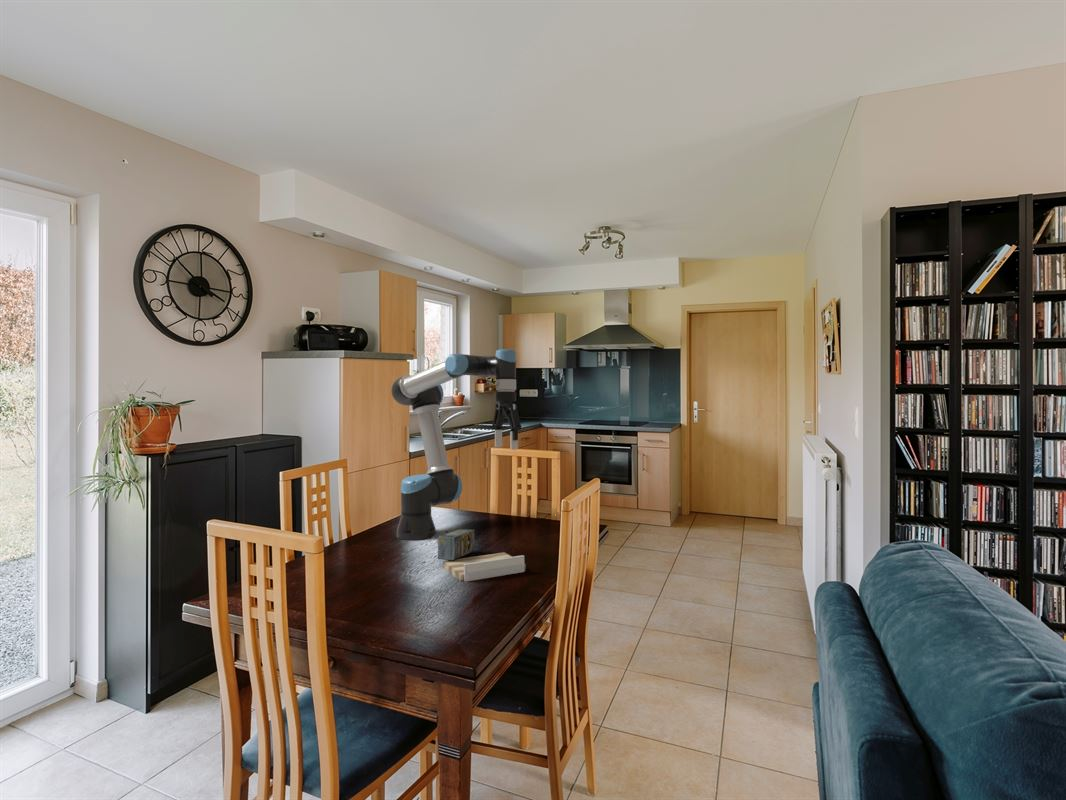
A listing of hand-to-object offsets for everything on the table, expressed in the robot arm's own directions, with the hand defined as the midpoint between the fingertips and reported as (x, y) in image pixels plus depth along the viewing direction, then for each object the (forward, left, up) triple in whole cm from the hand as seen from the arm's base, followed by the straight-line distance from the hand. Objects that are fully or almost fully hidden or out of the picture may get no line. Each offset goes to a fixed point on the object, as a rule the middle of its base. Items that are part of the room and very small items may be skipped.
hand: (506, 448), depth 204 cm
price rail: (+30, -18, -37) cm, 50 cm away
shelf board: (+21, -18, -37) cm, 46 cm away
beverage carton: (+2, -16, -38) cm, 41 cm away
